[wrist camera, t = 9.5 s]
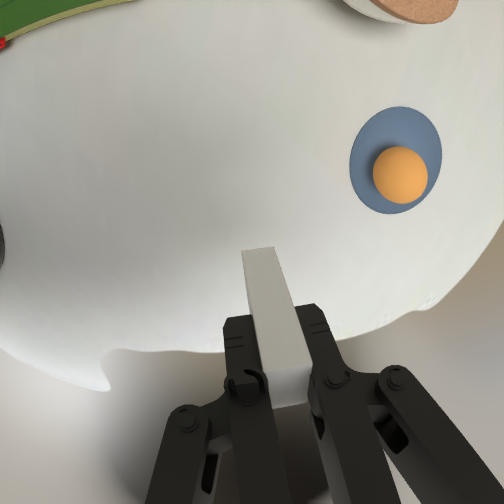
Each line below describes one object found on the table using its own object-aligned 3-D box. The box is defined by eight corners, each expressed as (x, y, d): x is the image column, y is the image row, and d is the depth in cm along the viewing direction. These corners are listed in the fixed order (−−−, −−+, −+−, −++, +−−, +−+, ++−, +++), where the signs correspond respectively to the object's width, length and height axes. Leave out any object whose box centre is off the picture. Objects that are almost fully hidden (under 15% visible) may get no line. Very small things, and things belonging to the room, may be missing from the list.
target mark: (346, 218, 30) (347, 219, 30) (350, 103, 24) (351, 104, 24) (432, 209, 31) (433, 209, 31) (445, 111, 24) (446, 112, 24)
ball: (359, 194, 28) (397, 218, 24) (363, 141, 25) (405, 159, 21) (396, 186, 30) (433, 207, 25) (401, 138, 27) (441, 154, 22)
